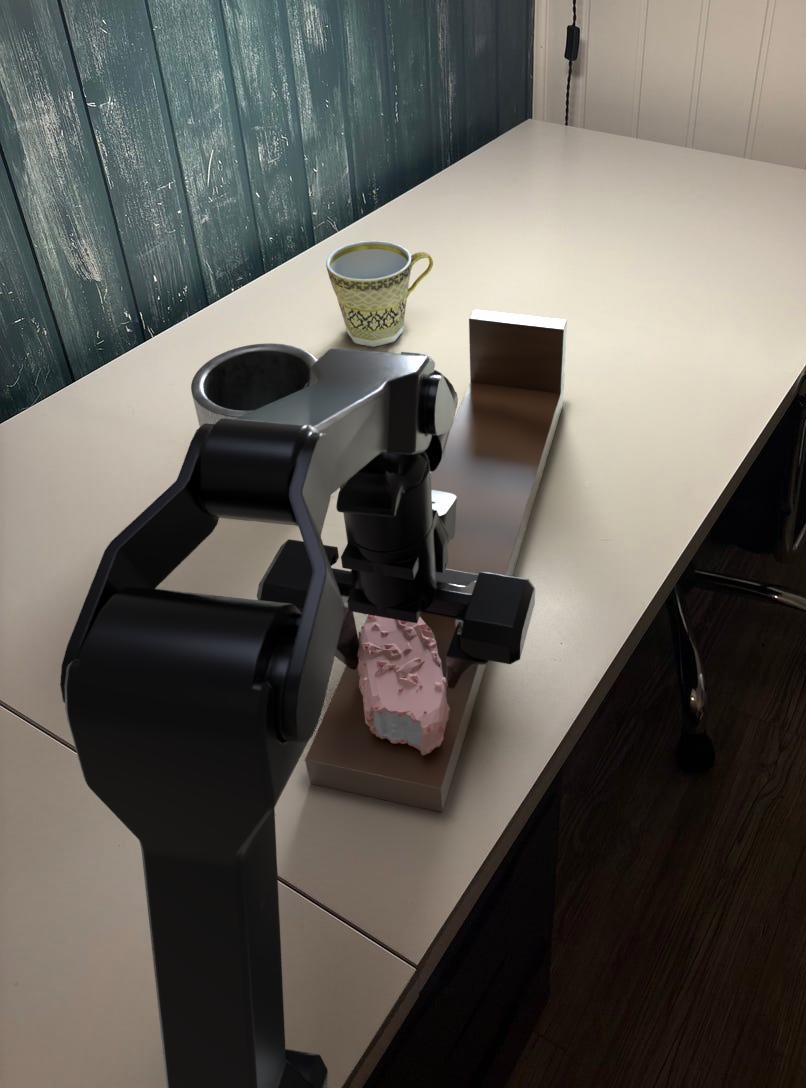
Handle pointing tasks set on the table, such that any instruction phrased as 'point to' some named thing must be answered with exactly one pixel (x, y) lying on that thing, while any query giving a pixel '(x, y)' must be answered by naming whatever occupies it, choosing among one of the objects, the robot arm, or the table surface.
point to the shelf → (462, 546)
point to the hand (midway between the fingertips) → (404, 674)
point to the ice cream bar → (402, 682)
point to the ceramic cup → (373, 288)
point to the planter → (248, 380)
